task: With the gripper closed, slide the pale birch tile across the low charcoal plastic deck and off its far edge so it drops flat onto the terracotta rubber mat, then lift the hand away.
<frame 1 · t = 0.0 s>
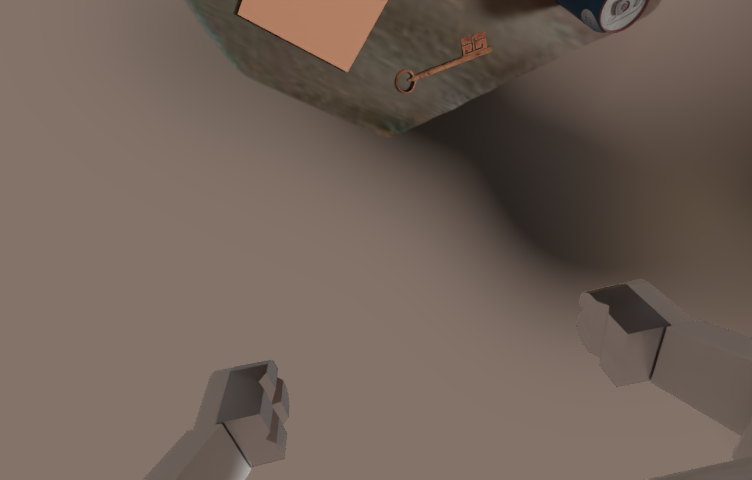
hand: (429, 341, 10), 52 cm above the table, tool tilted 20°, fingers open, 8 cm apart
key: (440, 59, 59), on the table
mat: (315, 1, 50), on the table
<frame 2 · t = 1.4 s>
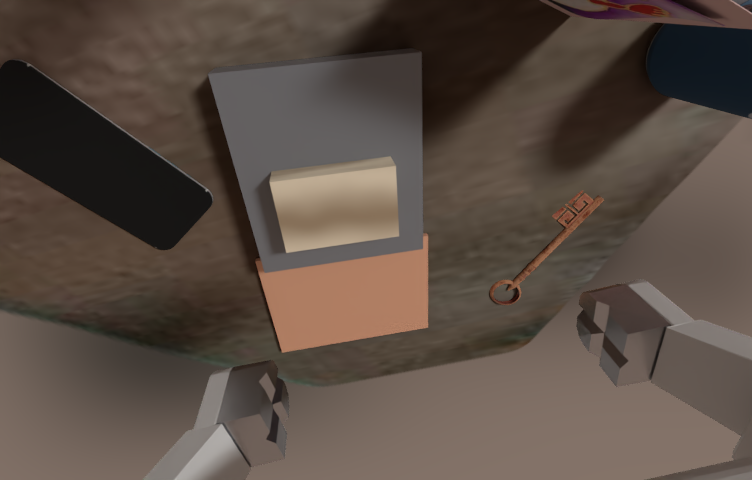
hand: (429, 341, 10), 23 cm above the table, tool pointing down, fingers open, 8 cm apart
deck: (331, 164, 32), on the table
key: (536, 246, 41), on the table
soda can: (676, 48, 32), on the table
tile: (336, 199, 31), point 2 cm above the table, touching deck
mat: (349, 294, 39), on the table
smartphone: (105, 165, 30), on the table
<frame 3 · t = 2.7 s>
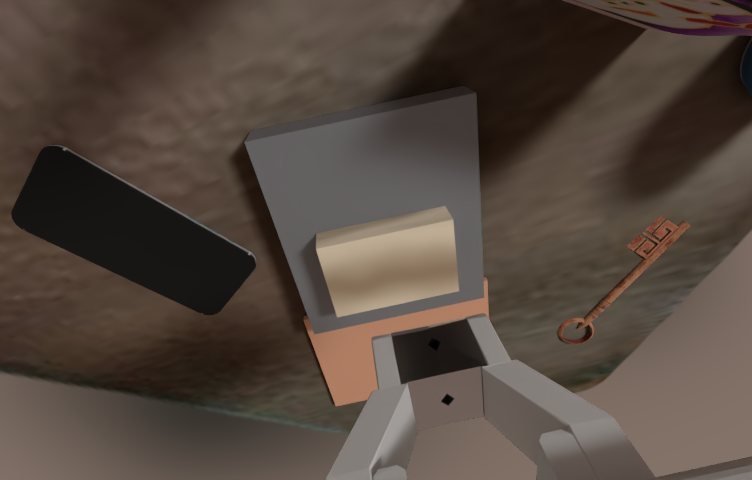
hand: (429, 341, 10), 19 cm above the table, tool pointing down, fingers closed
deck: (378, 215, 29), on the table
key: (609, 279, 36), on the table
tile: (387, 255, 28), point 2 cm above the table, touching deck
mat: (404, 344, 36), on the table
smartphone: (147, 236, 28), on the table
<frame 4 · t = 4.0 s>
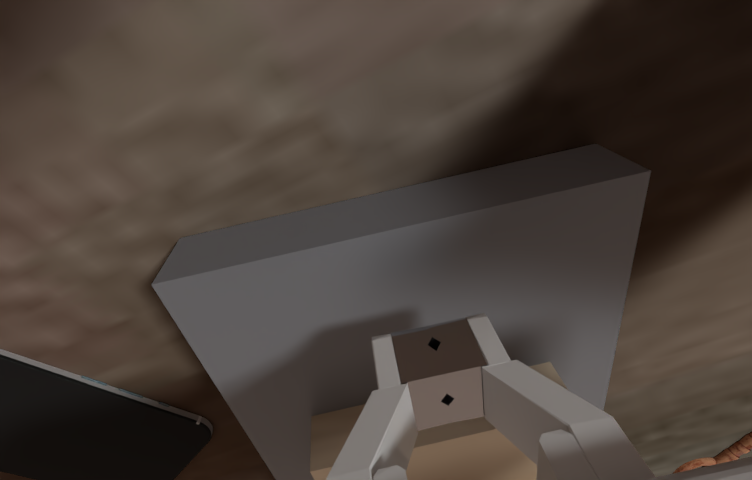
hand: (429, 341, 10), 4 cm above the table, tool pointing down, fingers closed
deck: (419, 355, 17), on the table
tile: (439, 435, 16), point 2 cm above the table, touching deck
smartphone: (17, 402, 16), on the table
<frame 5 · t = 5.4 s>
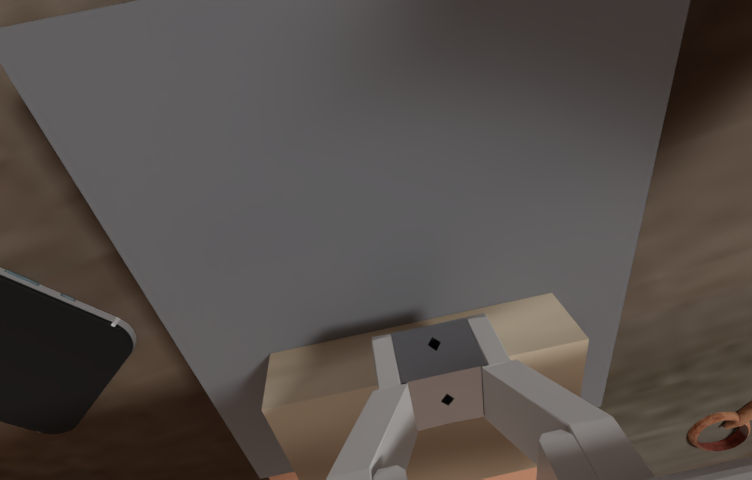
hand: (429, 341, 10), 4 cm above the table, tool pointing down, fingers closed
deck: (393, 244, 14), on the table
tile: (422, 384, 14), point 3 cm above the table, touching gripper
mat: (430, 461, 21), on the table
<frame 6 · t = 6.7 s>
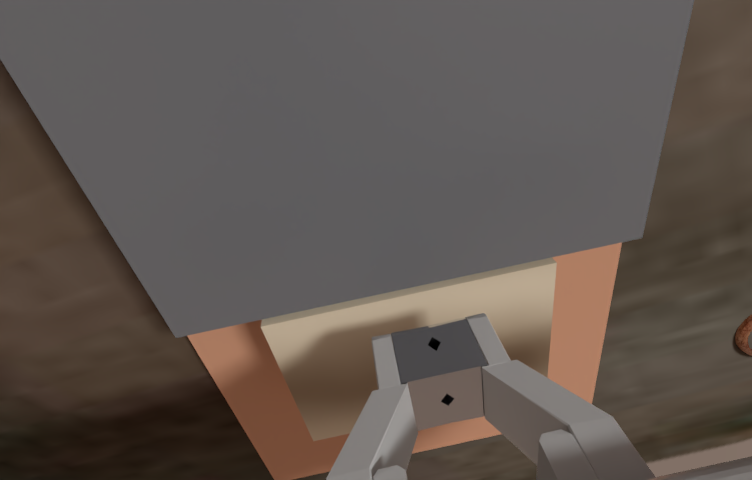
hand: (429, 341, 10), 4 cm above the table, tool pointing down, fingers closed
tile: (409, 321, 15), resting on mat
mat: (416, 359, 17), on the table
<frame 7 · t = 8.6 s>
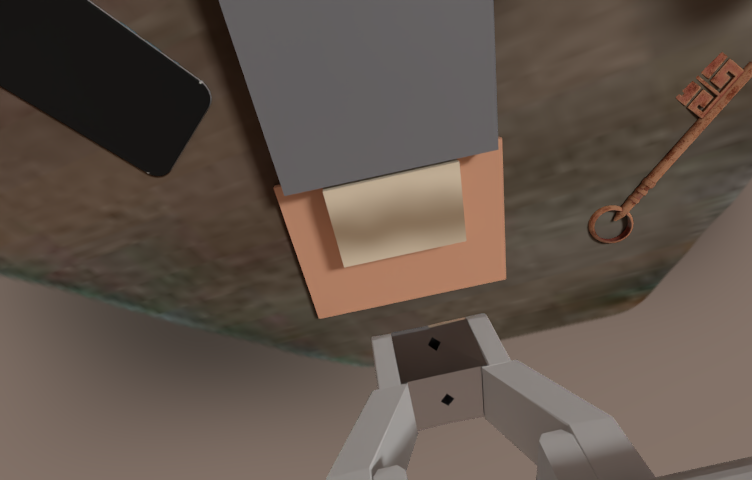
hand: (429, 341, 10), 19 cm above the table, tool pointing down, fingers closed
deck: (362, 33, 23), on the table
key: (653, 152, 29), on the table
tile: (394, 205, 28), resting on mat
mat: (400, 234, 30), on the table
smartphone: (72, 57, 23), on the table
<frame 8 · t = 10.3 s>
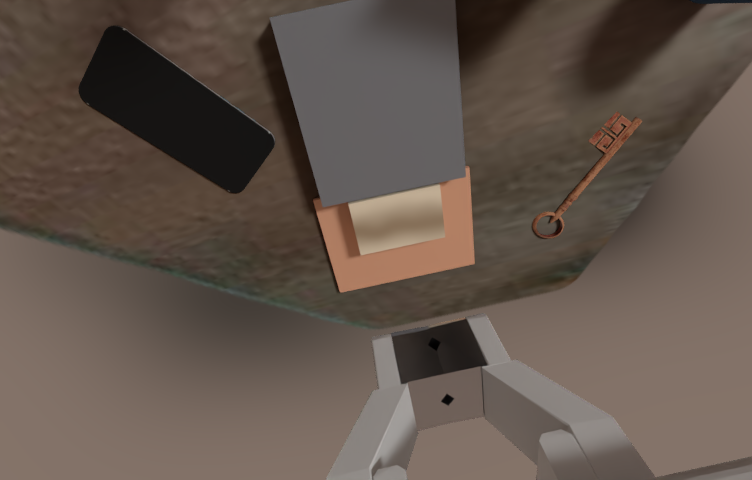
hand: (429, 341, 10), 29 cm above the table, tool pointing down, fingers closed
deck: (376, 101, 35), on the table
key: (576, 175, 42), on the table
tile: (395, 212, 40), resting on mat
mat: (399, 232, 42), on the table
smartphone: (185, 116, 34), on the table
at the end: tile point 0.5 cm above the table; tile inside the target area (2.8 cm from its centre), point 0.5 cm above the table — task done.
